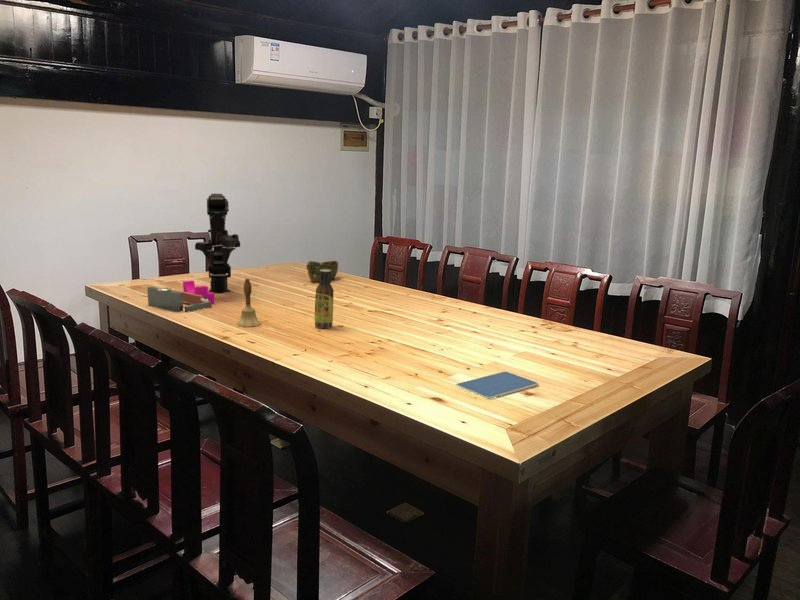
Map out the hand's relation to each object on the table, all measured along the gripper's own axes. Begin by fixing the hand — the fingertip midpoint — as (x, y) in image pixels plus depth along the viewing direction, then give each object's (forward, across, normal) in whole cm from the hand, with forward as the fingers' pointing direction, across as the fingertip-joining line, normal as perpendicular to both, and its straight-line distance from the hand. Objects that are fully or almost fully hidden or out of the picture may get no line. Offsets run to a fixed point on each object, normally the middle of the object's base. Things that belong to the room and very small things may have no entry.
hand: (218, 266), depth 263 cm
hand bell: (+14, -22, -41) cm, 49 cm away
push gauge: (+13, -20, 0) cm, 24 cm away
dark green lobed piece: (+13, +58, -5) cm, 59 cm away
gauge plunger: (+12, -16, -2) cm, 20 cm away
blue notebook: (+14, -25, -137) cm, 140 cm away
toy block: (+14, -10, 0) cm, 17 cm away
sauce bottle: (+13, -8, -63) cm, 65 cm away
